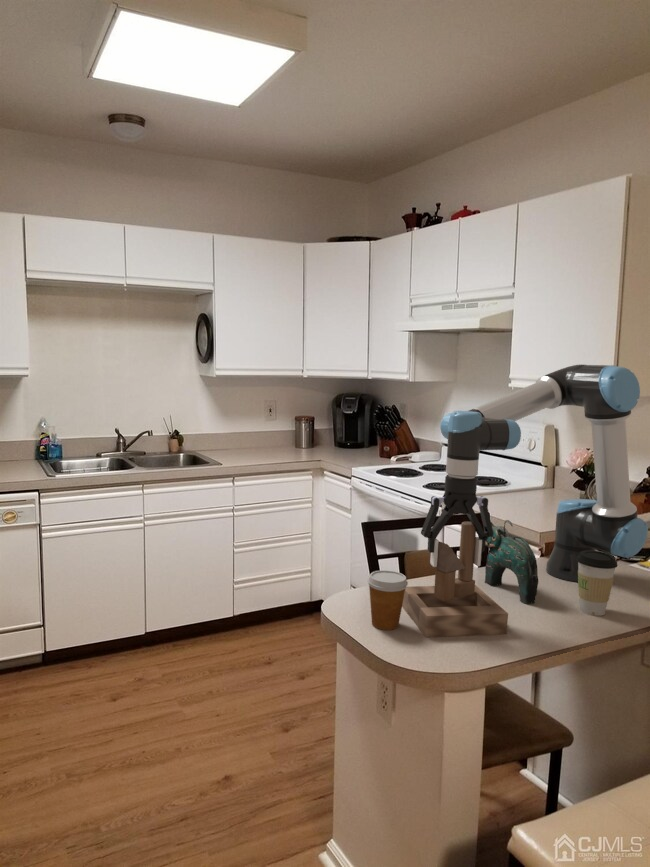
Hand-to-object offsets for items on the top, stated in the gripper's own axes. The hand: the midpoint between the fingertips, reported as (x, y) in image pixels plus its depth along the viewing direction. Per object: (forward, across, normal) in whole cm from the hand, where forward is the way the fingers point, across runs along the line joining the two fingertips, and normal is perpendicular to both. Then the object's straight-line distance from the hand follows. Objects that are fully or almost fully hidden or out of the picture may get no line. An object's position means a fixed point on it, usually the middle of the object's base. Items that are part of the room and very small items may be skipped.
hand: (455, 564), depth 161 cm
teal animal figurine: (+14, -24, -17) cm, 32 cm away
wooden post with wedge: (+8, 0, 0) cm, 8 cm away
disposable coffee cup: (+14, +17, +2) cm, 22 cm away
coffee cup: (+14, -40, -2) cm, 42 cm away
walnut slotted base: (+14, 0, 0) cm, 14 cm away
